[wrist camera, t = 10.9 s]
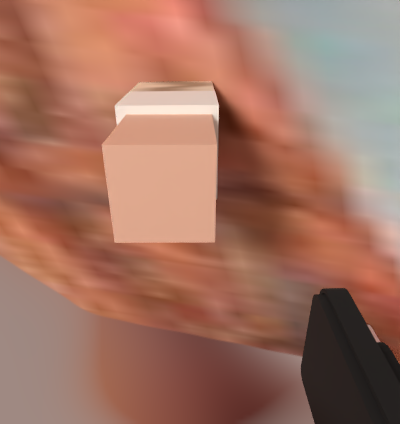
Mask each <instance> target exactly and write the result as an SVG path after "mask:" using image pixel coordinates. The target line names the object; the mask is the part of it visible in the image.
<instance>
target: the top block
mask: <svg viewBox="0 0 400 424" xmlns="http://www.w3.org/2000/svg"><path fill="white" fill-rule="evenodd" d="M102 151H103V158H104V166H105V174H106V181H107V189H108V196H109V204H110V211H111V219H112V226H113V234H114V241H115V243H147V242H215V218H216V172H217V141H216V135H215V129H214V123H213V117H212V114H126V115H125V117H124V118H123V119H122V120H121V122H120V123H119V124H118V125H117V127H116V128H115V129H114V130H113V132H112V133H111V134H110V135H109V137H108V138H107V139H106V140H105V142H104V143H103V144H102Z"/></svg>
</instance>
